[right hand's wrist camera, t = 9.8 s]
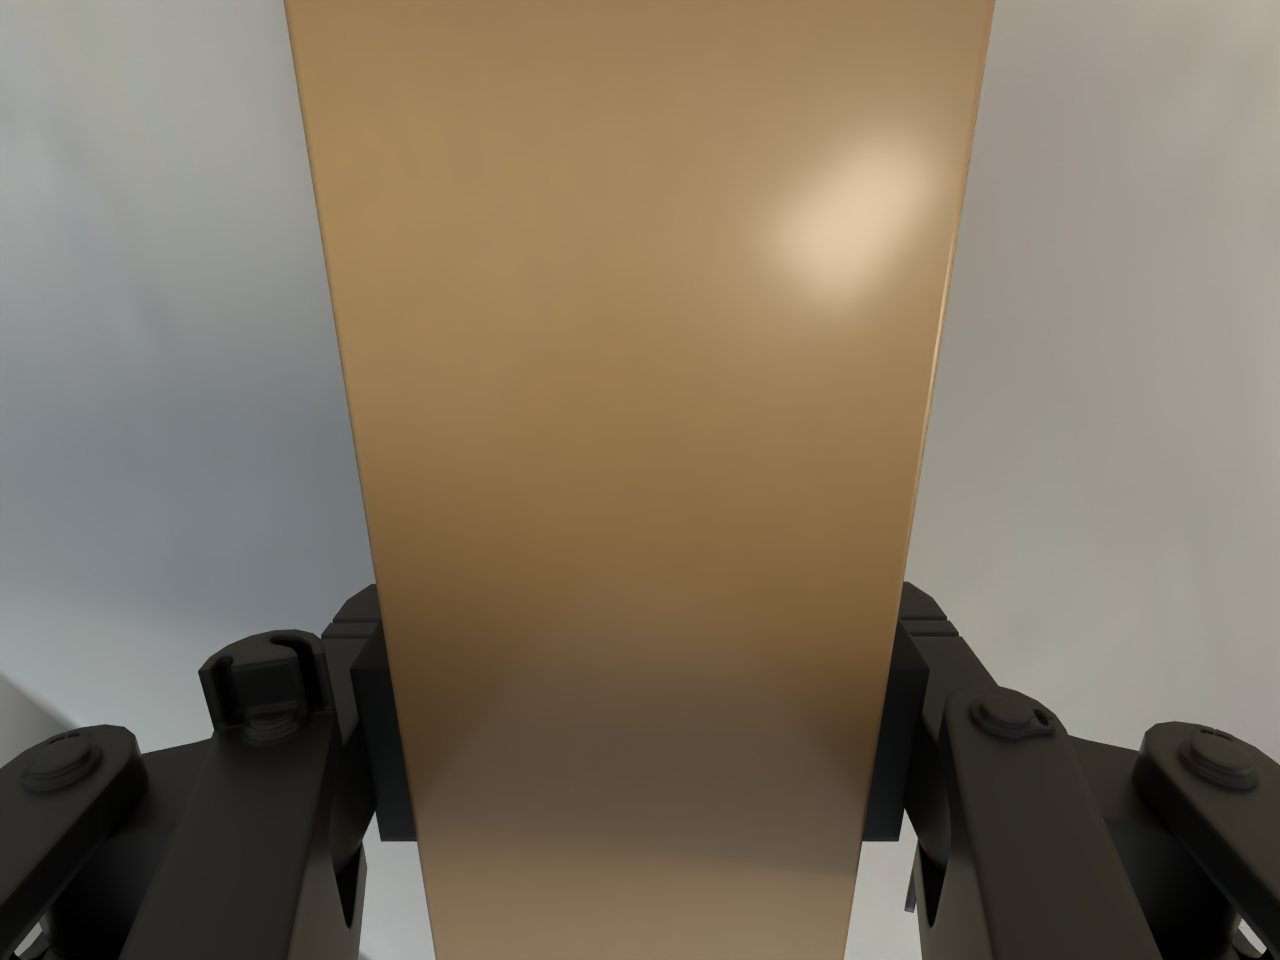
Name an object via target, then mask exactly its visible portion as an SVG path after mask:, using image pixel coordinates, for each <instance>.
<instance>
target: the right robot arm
mask: <svg viewBox="0 0 1280 960" xmlns="http://www.w3.org/2000/svg"><path fill="white" fill-rule="evenodd" d="M198 674H199V677H200V681H201V684H202V688H203V691H204V695H205V699H206V702H207V706H208V709H209V713H210V716H211V720H212V724H213V727H214V732H213V735H212V737H211V738H210V739H206V740H202V741H199V742H195V743H191V744H186V745H181V746H177V747H172V748H167V749H163V750H158V751H153V752H149V753H144V754H141V752H140V749H139V746H138V743H137V740H136V737H135V735H134V734H133V733H132V732H130V731H129V730H128V729H126V728H125V727H121V726H114V725H106V724H104V725H97V726H90V727H82V728H78V729H74V730H70V731H68V732H66V733H61V734H58V735H55V736H53V737H50V738H48V739H47V740H45V741H43V742H41V743H39V744H37V745H35V746H33V747H31V748H29V749H27V750H25V751H24V752H22V753H21V754H20V755H18V756H17V757H16V758H14V759H13V760H11V761H10V762H9V763H7V764H6V765H5V766H3V767H2V768H1V769H0V960H358V954H359V944H360V934H361V924H362V914H363V905H364V895H365V885H366V875H367V864H366V858H365V852H364V847H363V841H362V839H363V837H364V835H365V832H366V830H367V828H368V826H369V823H370V821H371V819H372V816H373V814H374V812H375V811H376V817H377V822H378V828H379V833H380V839H381V841H417V837H416V831H415V825H414V819H413V812H412V806H411V800H410V793H409V787H408V781H407V774H406V768H405V762H404V756H403V749H402V743H401V737H400V730H399V724H398V718H397V711H396V705H395V699H394V692H393V686H392V680H391V674H390V667H389V661H388V655H387V648H386V642H385V636H384V629H383V623H382V617H381V610H380V604H379V598H378V592H377V585H376V584H371V585H369V586H368V587H366V588H365V589H363V590H362V591H360V592H359V593H357V594H356V595H354V596H353V597H351V598H350V599H348V600H347V601H346V602H345V604H344V605H343V606H342V608H341V609H340V610H339V612H338V613H337V615H336V616H335V617H334V619H333V623H330V624H329V625H328V627H327V628H326V629H325V631H324V632H323V633H322V635H321V639H320V638H318V637H317V636H316V635H315V634H313V633H310V632H305V631H301V630H296V629H295V630H274V631H269V632H265V633H260V634H256V635H252V636H249V637H246V638H244V639H242V640H239V641H237V642H234V643H232V644H230V645H228V646H226V647H225V648H223V649H221V650H220V651H218V652H217V653H215V654H214V655H212V656H211V657H209V659H208V660H207V661H206V662H205V663H204V665H203V666H202V667H201V668H200V669H199V671H198ZM904 809H905V810H906V812H907V814H908V816H909V819H910V821H911V823H912V826H913V828H914V830H915V832H916V835H917V837H918V841H917V847H916V852H915V857H914V862H913V867H912V872H911V877H910V882H909V887H908V892H907V898H906V904H905V911H907V912H912V913H914V909H915V904H916V903H917V913H918V922H919V932H920V942H921V952H922V960H1280V765H1279V764H1278V763H1276V762H1275V761H1274V760H1272V759H1271V758H1270V757H1268V756H1267V755H1265V754H1264V753H1263V752H1261V751H1260V750H1259V749H1257V748H1256V747H1254V746H1252V745H1250V744H1248V743H1246V742H1244V741H1242V740H1240V739H1238V738H1236V737H1234V736H1232V735H1231V734H1228V733H1226V732H1223V731H1220V730H1217V729H1216V730H1215V729H1213V728H1211V727H1207V726H1203V725H1199V724H1191V723H1184V722H1177V721H1174V722H1166V723H1158V724H1155V725H1154V726H1153V727H1151V728H1150V729H1149V730H1147V731H1146V732H1145V735H1144V738H1143V741H1142V744H1141V747H1140V750H1139V751H1136V750H1131V749H1126V748H1122V747H1117V746H1112V745H1108V744H1103V743H1098V742H1094V741H1089V740H1084V739H1081V738H1077V737H1074V736H1070V735H1068V733H1067V731H1066V729H1065V727H1064V726H1063V725H1062V723H1061V722H1060V720H1059V719H1058V718H1057V716H1056V715H1055V714H1054V713H1053V712H1051V711H1050V710H1049V709H1047V708H1046V707H1045V706H1044V705H1042V704H1041V703H1040V702H1038V701H1037V700H1035V699H1032V698H1030V697H1028V696H1026V695H1024V694H1022V693H1020V692H1018V691H1015V690H1011V689H1007V688H1004V687H1000V686H998V685H997V683H996V682H995V681H994V679H993V678H992V677H991V675H990V674H989V673H988V671H987V670H986V669H985V667H984V666H983V664H982V663H981V662H980V660H979V659H978V658H977V656H976V655H975V654H974V652H973V651H972V650H971V648H970V647H969V646H968V644H967V643H966V642H965V640H964V639H963V638H962V637H959V632H958V631H957V630H956V628H955V627H954V626H953V624H952V623H951V622H950V621H947V616H946V615H945V614H944V612H943V611H942V610H941V608H940V607H939V606H938V604H937V603H936V602H935V600H934V599H933V598H932V597H930V596H929V595H927V594H926V593H924V592H923V591H921V590H920V589H918V588H917V587H915V586H914V585H912V584H911V583H909V582H903V586H902V592H901V599H900V605H899V611H898V618H897V624H896V630H895V637H894V643H893V649H892V656H891V662H890V668H889V675H888V681H887V687H886V694H885V700H884V706H883V713H882V719H881V725H880V732H879V738H878V745H877V751H876V757H875V764H874V770H873V776H872V783H871V789H870V795H869V802H868V808H867V814H866V821H865V827H864V833H863V840H862V841H899V836H900V830H901V825H902V820H903V814H904ZM1242 918H1243V919H1244V920H1245V922H1246V923H1247V924H1248V925H1249V927H1250V928H1251V929H1252V930H1253V931H1254V933H1255V934H1256V935H1257V936H1258V938H1259V939H1260V940H1261V941H1262V942H1263V944H1264V945H1265V946H1266V947H1267V949H1266V951H1265V952H1264V953H1263V954H1261V953H1260V952H1259V951H1258V950H1257V949H1256V948H1255V947H1254V946H1253V945H1252V944H1251V943H1250V942H1249V941H1248V940H1247V939H1246V937H1245V936H1244V935H1243V934H1242V932H1241V931H1240V930H1239V929H1238V927H1239V924H1240V922H1241V920H1242ZM37 922H39V924H40V926H41V928H42V930H43V931H42V932H41V933H40V935H39V936H38V937H37V938H36V940H35V941H34V942H33V944H32V945H31V946H30V947H29V948H28V949H26V950H25V951H24V952H23V953H22V954H21V955H20V956H19V957H18V956H16V955H15V953H14V951H15V950H16V948H17V947H18V946H19V945H20V943H21V942H22V941H23V940H24V938H25V937H26V936H27V935H28V934H29V932H30V931H31V930H32V929H33V927H34V926H35V925H36V924H37Z"/></svg>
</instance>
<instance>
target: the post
mask: <svg viewBox="0 0 1280 960" xmlns="http://www.w3.org/2000/svg"><path fill="white" fill-rule="evenodd" d="M994 3H995V0H284V5H285V11H286V18H287V24H288V30H289V37H290V43H291V49H292V56H293V62H294V68H295V75H296V81H297V87H298V93H299V100H300V106H301V112H302V119H303V125H304V131H305V138H306V144H307V150H308V157H309V163H310V169H311V175H312V182H313V188H314V194H315V201H316V207H317V213H318V220H319V226H320V232H321V238H322V245H323V251H324V257H325V264H326V270H327V276H328V283H329V289H330V295H331V302H332V308H333V314H334V320H335V327H336V333H337V339H338V346H339V352H340V358H341V365H342V371H343V377H344V383H345V390H346V396H347V402H348V409H349V415H350V421H351V428H352V434H353V440H354V447H355V453H356V459H357V465H358V472H359V478H360V484H361V491H362V497H363V503H364V510H365V516H366V522H367V529H368V535H369V541H370V547H371V554H372V560H373V566H374V573H375V579H376V585H377V592H378V598H379V604H380V610H381V617H382V623H383V629H384V636H385V642H386V648H387V655H388V661H389V667H390V674H391V680H392V686H393V692H394V699H395V705H396V711H397V718H398V724H399V730H400V737H401V743H402V749H403V756H404V762H405V768H406V774H407V781H408V787H409V793H410V800H411V806H412V812H413V819H414V825H415V831H416V837H417V844H418V850H419V856H420V863H421V869H422V875H423V882H424V888H425V894H426V901H427V907H428V913H429V919H430V926H431V932H432V938H433V945H434V951H435V957H436V960H844V954H845V947H846V941H847V935H848V928H849V922H850V916H851V909H852V903H853V897H854V890H855V884H856V878H857V871H858V865H859V859H860V852H861V846H862V840H863V833H864V827H865V821H866V814H867V808H868V802H869V795H870V789H871V783H872V776H873V770H874V764H875V757H876V751H877V745H878V738H879V732H880V725H881V719H882V713H883V706H884V700H885V694H886V687H887V681H888V675H889V668H890V662H891V656H892V649H893V643H894V637H895V630H896V624H897V618H898V611H899V605H900V599H901V592H902V586H903V580H904V573H905V567H906V561H907V554H908V548H909V542H910V535H911V529H912V523H913V516H914V510H915V504H916V497H917V491H918V485H919V478H920V472H921V466H922V459H923V453H924V447H925V440H926V434H927V428H928V421H929V415H930V409H931V402H932V396H933V390H934V383H935V377H936V371H937V364H938V358H939V352H940V345H941V339H942V333H943V326H944V320H945V314H946V307H947V301H948V295H949V288H950V282H951V276H952V269H953V263H954V257H955V250H956V244H957V238H958V231H959V225H960V219H961V212H962V206H963V200H964V193H965V187H966V181H967V174H968V168H969V161H970V155H971V149H972V142H973V136H974V130H975V123H976V117H977V111H978V104H979V98H980V92H981V85H982V79H983V73H984V66H985V60H986V54H987V47H988V41H989V35H990V28H991V22H992V16H993V9H994Z"/></svg>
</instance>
